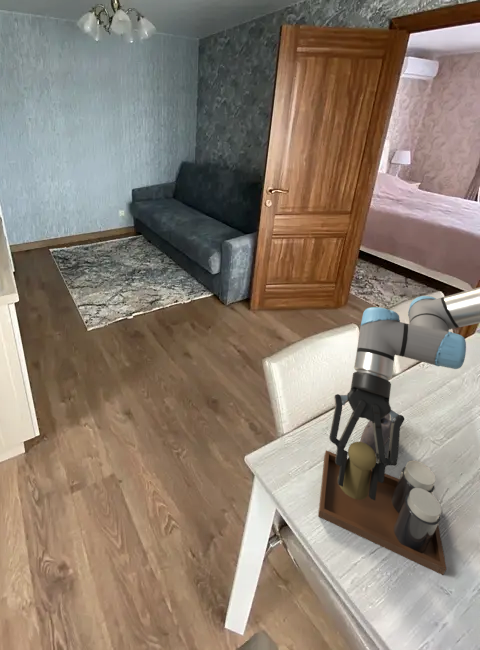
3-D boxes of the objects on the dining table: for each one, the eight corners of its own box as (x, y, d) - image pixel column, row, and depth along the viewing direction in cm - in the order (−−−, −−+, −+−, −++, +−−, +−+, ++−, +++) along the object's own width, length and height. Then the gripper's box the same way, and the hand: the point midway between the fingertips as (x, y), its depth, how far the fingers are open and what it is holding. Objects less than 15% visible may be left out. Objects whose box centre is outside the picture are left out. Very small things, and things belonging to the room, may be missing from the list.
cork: (340, 465, 78) (350, 431, 74) (370, 481, 75) (382, 446, 71) (334, 488, 74) (344, 452, 70) (366, 505, 71) (378, 470, 66)
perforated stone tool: (369, 469, 82) (376, 449, 79) (347, 453, 86) (353, 433, 83) (395, 435, 90) (402, 415, 88) (375, 421, 94) (380, 402, 92)
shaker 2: (424, 529, 70) (440, 494, 66) (428, 559, 65) (446, 524, 61) (392, 515, 72) (406, 481, 68) (394, 543, 67) (409, 508, 63)
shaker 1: (420, 500, 75) (434, 466, 71) (423, 526, 70) (440, 491, 66) (390, 488, 77) (403, 454, 73) (392, 512, 73) (406, 478, 68)
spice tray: (428, 499, 76) (432, 492, 75) (442, 577, 63) (446, 569, 62) (324, 457, 85) (325, 450, 84) (317, 518, 72) (319, 510, 71)
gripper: (414, 391, 77) (402, 508, 70) (327, 364, 84) (308, 468, 77) (425, 389, 71) (413, 518, 63) (329, 361, 78) (309, 474, 71)
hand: (355, 491), depth 70 cm, fingers closed on cork, 5 cm apart
